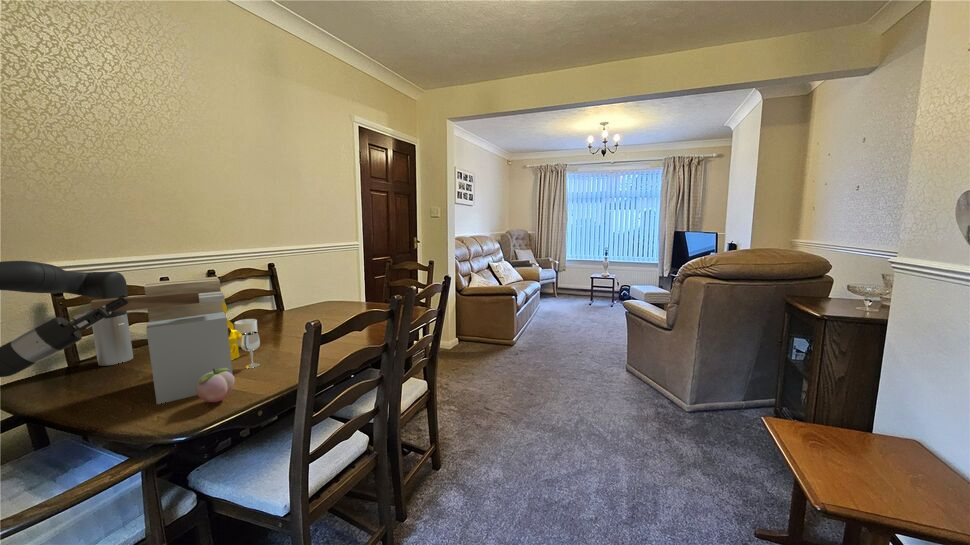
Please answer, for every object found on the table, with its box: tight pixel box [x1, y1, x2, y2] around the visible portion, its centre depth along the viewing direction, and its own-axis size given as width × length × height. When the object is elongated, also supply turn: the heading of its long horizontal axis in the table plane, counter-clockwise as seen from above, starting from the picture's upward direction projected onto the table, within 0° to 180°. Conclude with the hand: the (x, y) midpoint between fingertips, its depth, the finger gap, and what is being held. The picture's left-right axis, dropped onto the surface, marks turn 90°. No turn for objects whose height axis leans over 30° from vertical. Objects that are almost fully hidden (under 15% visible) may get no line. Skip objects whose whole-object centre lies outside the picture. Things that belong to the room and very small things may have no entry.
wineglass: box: [240, 331, 261, 369], centre depth 129 cm, size 6×6×12 cm
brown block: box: [90, 291, 226, 312], centre depth 105 cm, size 8×28×3 cm, turn 130°
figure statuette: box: [222, 302, 242, 362], centre depth 136 cm, size 18×8×22 cm, turn 149°
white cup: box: [233, 318, 258, 348], centre depth 152 cm, size 8×8×10 cm
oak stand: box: [144, 276, 223, 322], centre depth 119 cm, size 10×18×32 cm, turn 130°
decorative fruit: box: [195, 368, 236, 403], centre depth 104 cm, size 9×8×10 cm
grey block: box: [145, 312, 234, 405], centre depth 111 cm, size 9×18×22 cm, turn 130°
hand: (126, 298), depth 100 cm, fingers closed on brown block, 3 cm apart
